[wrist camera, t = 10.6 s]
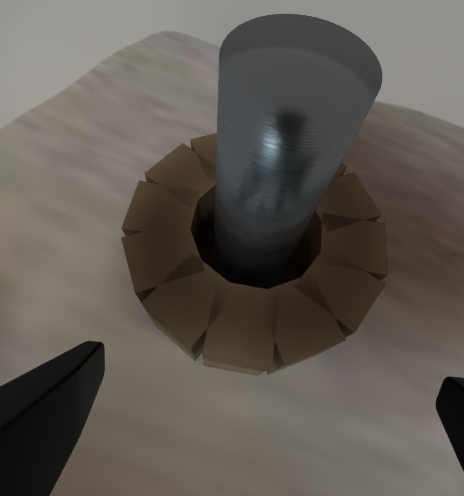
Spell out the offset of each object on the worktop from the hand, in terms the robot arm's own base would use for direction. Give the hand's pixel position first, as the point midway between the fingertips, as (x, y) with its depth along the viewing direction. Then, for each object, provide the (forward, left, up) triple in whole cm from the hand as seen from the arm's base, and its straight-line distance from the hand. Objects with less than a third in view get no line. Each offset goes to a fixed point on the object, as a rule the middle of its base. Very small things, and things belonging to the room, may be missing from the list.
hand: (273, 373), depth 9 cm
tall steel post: (+6, -3, -8) cm, 10 cm away
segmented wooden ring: (+6, -3, -8) cm, 10 cm away
